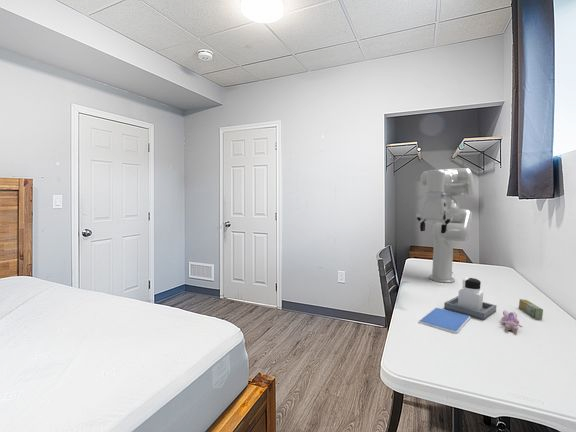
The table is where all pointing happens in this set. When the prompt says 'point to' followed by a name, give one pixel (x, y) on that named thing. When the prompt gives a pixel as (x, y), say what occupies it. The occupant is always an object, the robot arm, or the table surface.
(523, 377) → the table surface
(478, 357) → the table surface
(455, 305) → the tray
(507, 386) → the table surface
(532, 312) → the medication box
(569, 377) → the table surface
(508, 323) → the rabbit figure
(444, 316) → the blue flat pad
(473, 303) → the medicine bottle
